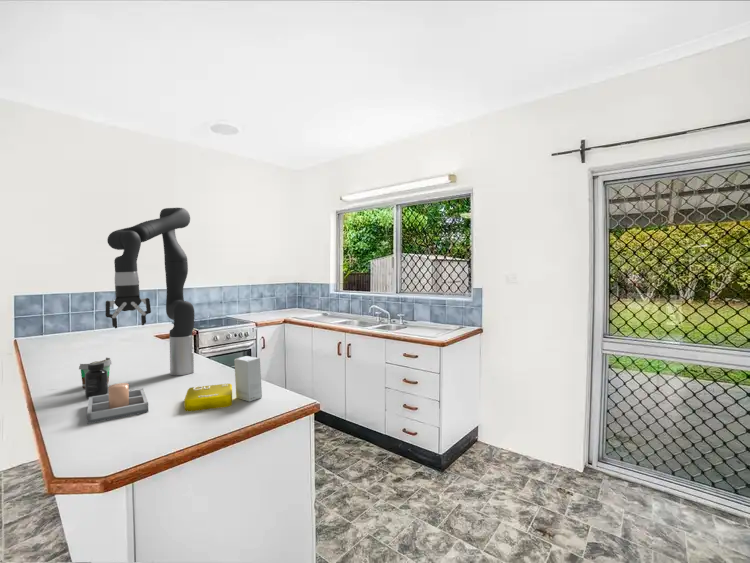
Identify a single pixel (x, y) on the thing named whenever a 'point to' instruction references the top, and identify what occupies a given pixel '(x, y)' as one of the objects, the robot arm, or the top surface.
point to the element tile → (208, 397)
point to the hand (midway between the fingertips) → (129, 326)
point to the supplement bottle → (96, 380)
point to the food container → (85, 369)
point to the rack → (101, 411)
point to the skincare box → (248, 378)
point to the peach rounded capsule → (118, 395)
